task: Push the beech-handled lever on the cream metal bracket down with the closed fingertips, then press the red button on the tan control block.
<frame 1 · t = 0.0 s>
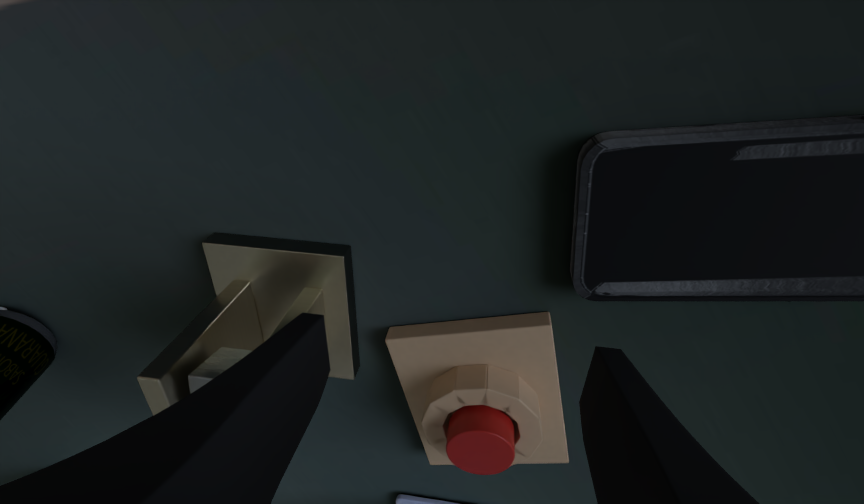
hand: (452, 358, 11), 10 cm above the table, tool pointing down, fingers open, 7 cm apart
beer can: (20, 332, 29), on the table
button: (480, 439, 23), point 3 cm above the table, slide at 0.1 cm
lever: (238, 457, 20), point 7 cm above the table, hinge at 12.0°
phone: (753, 209, 18), on the table
control block: (482, 389, 26), on the table
bracket: (292, 303, 25), on the table
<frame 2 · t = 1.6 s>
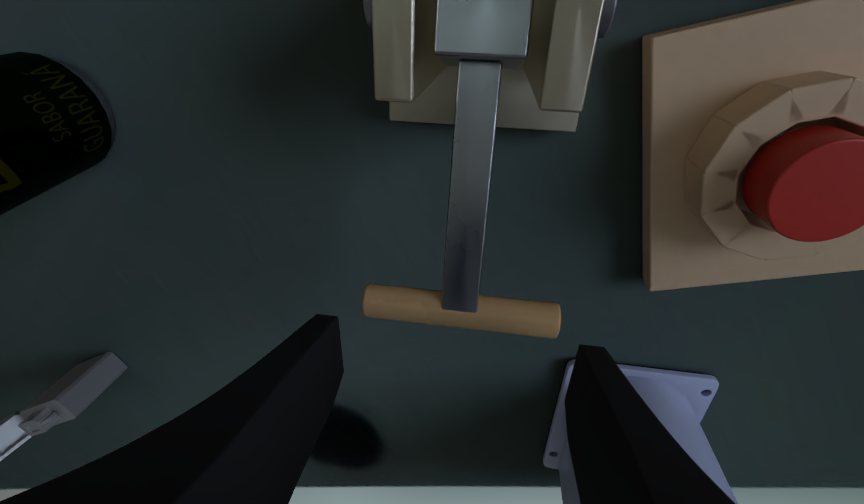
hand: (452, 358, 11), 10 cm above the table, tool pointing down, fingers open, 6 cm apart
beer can: (67, 108, 21), on the table, touching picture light
button: (813, 184, 14), point 3 cm above the table, slide at 0.1 cm
lighter: (91, 369, 31), on the table
lever: (472, 157, 12), point 7 cm above the table, hinge at 12.0°
control block: (759, 154, 17), on the table
bracket: (491, 4, 16), on the table
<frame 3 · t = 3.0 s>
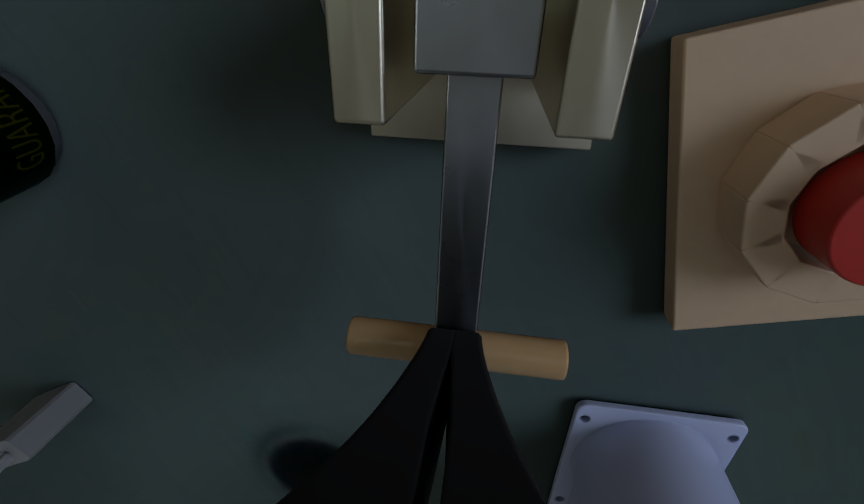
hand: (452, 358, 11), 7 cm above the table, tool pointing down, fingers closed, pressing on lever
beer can: (6, 119, 18), on the table, touching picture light
lighter: (54, 400, 29), on the table
lever: (467, 186, 10), point 7 cm above the table, hinge at 2.9°, touching gripper
control block: (806, 175, 15), on the table
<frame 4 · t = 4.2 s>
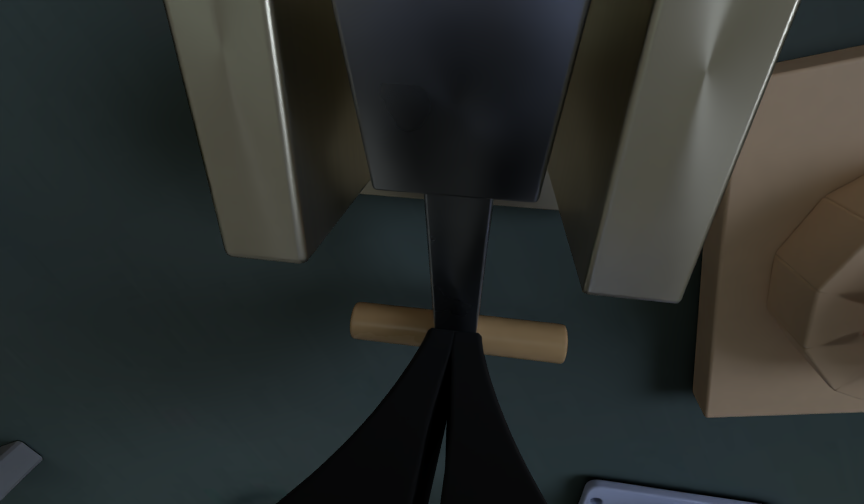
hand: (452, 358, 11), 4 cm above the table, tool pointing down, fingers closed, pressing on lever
lighter: (2, 457, 26), on the table
lever: (459, 234, 8), point 5 cm above the table, hinge at -26.4°, touching gripper
bracket: (484, 26, 11), on the table
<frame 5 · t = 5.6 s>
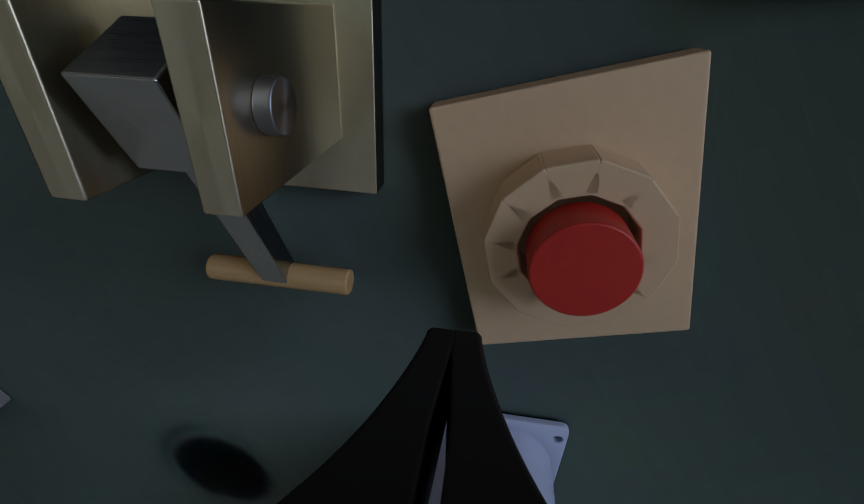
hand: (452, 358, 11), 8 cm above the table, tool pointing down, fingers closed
button: (580, 259, 14), point 3 cm above the table, slide at 0.1 cm
lever: (233, 199, 14), point 5 cm above the table, hinge at -26.4°
control block: (566, 216, 17), on the table
bracket: (285, 68, 16), on the table
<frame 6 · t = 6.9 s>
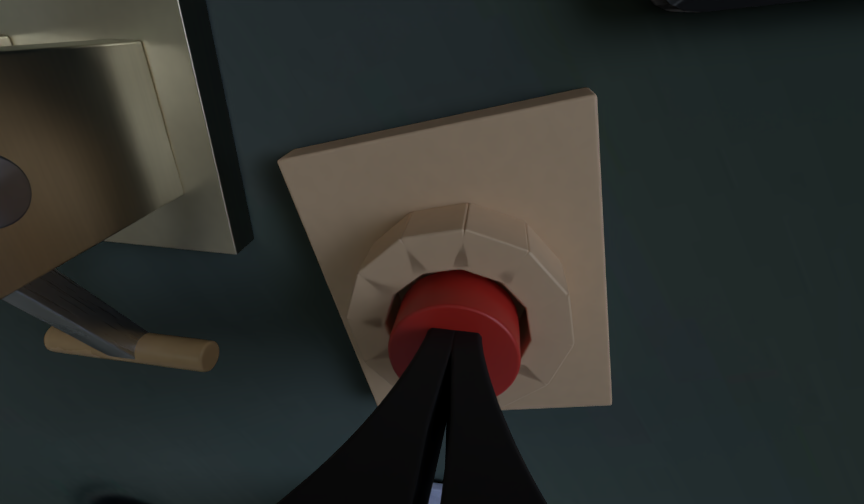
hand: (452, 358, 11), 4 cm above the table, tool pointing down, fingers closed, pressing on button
button: (455, 338, 12), point 3 cm above the table, slide at -0.1 cm, touching gripper
lever: (23, 280, 11), point 5 cm above the table, hinge at -26.4°
control block: (464, 276, 15), on the table
bracket: (119, 110, 14), on the table
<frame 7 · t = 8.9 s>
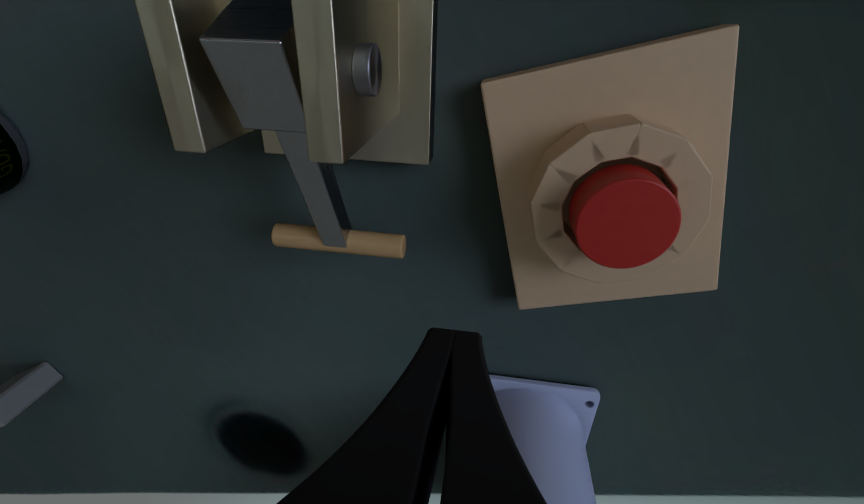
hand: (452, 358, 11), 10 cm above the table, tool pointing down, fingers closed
button: (621, 216, 16), point 3 cm above the table, slide at 0.1 cm
lighter: (30, 378, 33), on the table
lever: (310, 163, 15), point 5 cm above the table, hinge at -26.4°
control block: (602, 185, 19), on the table
bracket: (346, 51, 18), on the table
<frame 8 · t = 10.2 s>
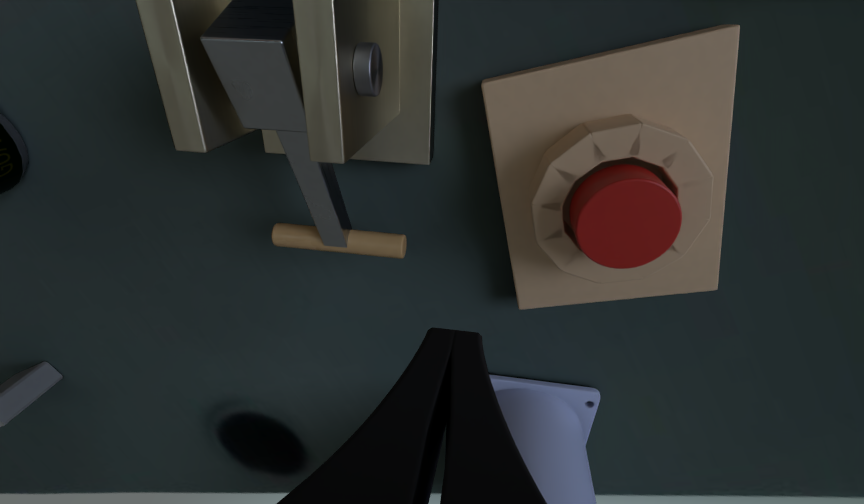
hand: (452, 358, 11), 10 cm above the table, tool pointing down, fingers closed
button: (621, 216, 16), point 3 cm above the table, slide at 0.1 cm
lighter: (30, 378, 33), on the table
lever: (311, 163, 15), point 5 cm above the table, hinge at -26.4°
control block: (602, 185, 19), on the table
bracket: (347, 50, 18), on the table
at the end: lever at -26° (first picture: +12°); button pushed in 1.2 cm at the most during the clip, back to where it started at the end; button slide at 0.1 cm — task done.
